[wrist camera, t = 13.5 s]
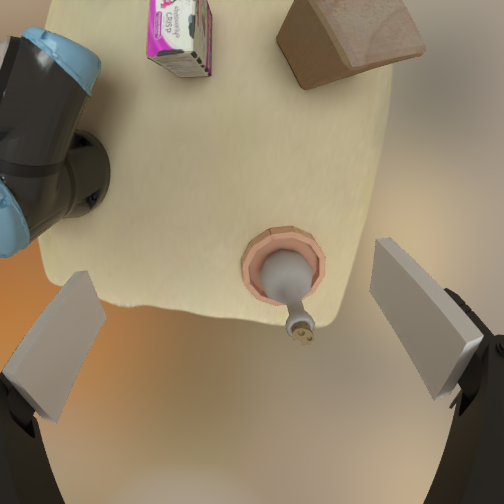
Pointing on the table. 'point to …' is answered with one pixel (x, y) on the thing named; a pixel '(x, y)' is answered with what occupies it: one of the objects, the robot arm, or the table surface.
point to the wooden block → (346, 38)
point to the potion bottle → (290, 290)
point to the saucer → (273, 242)
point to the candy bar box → (180, 36)
